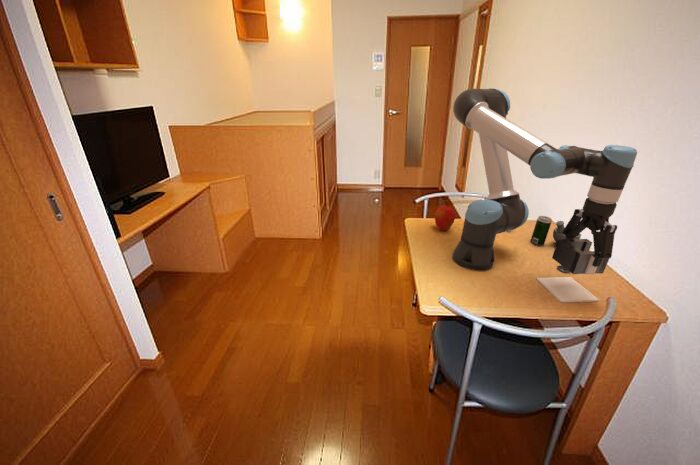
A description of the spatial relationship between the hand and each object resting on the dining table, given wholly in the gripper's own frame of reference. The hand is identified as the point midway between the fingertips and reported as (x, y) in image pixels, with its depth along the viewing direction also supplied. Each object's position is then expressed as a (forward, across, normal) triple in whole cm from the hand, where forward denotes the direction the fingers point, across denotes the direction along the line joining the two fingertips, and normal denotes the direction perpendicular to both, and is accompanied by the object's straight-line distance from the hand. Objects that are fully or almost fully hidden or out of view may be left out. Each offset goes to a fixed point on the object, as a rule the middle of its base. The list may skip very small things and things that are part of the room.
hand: (576, 264), depth 104 cm
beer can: (+10, +33, -11) cm, 37 cm away
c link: (0, 0, 0) cm, 0 cm away
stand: (+10, +12, -8) cm, 18 cm away
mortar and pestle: (+10, +30, -20) cm, 38 cm away
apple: (+10, +48, +26) cm, 56 cm away
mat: (+10, 0, 0) cm, 10 cm away
